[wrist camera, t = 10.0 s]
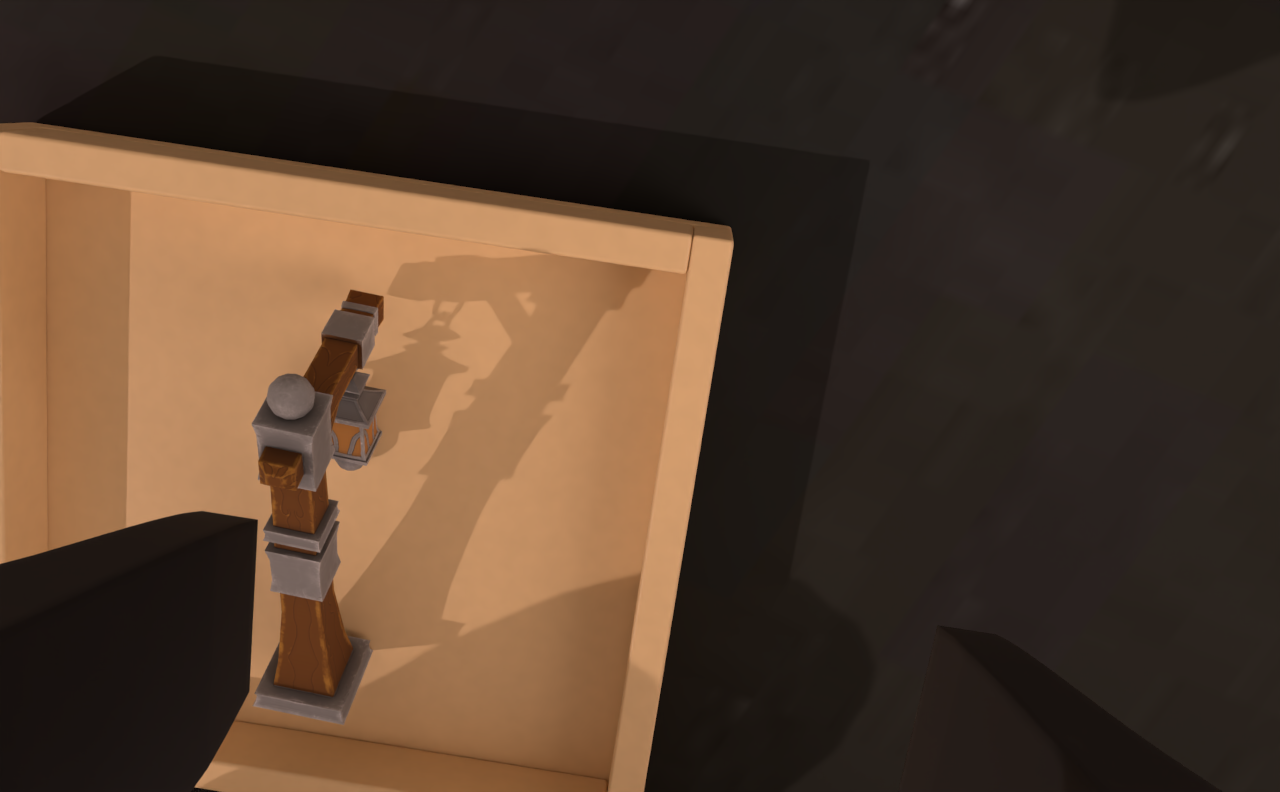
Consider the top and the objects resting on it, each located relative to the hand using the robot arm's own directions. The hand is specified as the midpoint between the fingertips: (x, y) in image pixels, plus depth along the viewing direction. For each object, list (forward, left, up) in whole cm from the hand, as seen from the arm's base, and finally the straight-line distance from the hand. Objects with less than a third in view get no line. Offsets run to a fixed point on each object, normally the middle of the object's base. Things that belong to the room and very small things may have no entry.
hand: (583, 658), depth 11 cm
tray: (+6, +3, -10) cm, 12 cm away
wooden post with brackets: (+6, +3, -10) cm, 12 cm away
